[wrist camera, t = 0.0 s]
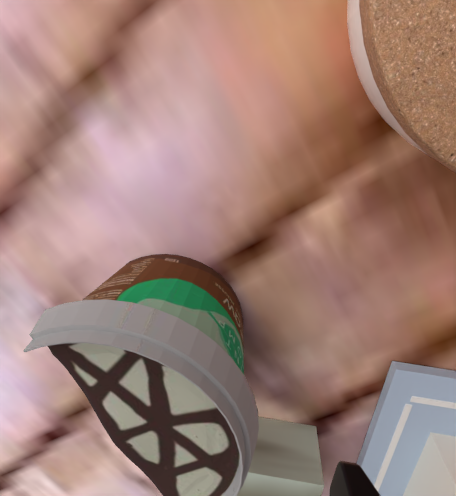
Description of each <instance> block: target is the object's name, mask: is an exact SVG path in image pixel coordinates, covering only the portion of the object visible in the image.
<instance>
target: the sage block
mask: <svg viewBox="0 0 456 496" xmlns="http://www.w3.org/2000/svg"><path fill="white" fill-rule="evenodd" d="M258 421H259V431H258V438H257V444H256V447H255V451H254V454H253V458H252V461H251V465H250V468H249V471H248V474H247V477H246V479H245V482H244V484H243V486H242V488H241V489H240V491H239V492H238V494H237V496H321V494H322V491H323V488H324V480H323V473H322V466H321V458H320V451H319V444H318V436H317V429H316V426H311V425H305V424H299V423H293V422H287V421H281V420H275V419H269V418H263V417H258Z"/></svg>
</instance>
